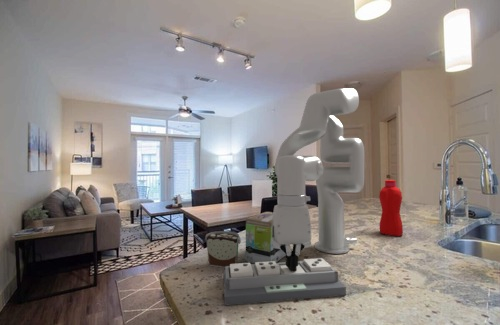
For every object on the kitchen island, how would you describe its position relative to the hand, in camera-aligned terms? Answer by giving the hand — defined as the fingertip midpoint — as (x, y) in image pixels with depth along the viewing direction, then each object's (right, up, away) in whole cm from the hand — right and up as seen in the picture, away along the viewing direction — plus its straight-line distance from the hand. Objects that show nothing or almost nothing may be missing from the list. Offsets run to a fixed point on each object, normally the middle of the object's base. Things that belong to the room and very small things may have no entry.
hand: (291, 268), depth 65 cm
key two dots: (-14, -1, -2) cm, 14 cm away
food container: (-19, -5, +15) cm, 25 cm away
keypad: (-3, -4, 0) cm, 6 cm away
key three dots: (+7, -1, +1) cm, 7 cm away
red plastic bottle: (+55, -5, +48) cm, 73 cm away
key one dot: (0, -2, 0) cm, 2 cm away
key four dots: (-7, -1, -1) cm, 7 cm away
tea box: (-5, -5, +20) cm, 21 cm away
